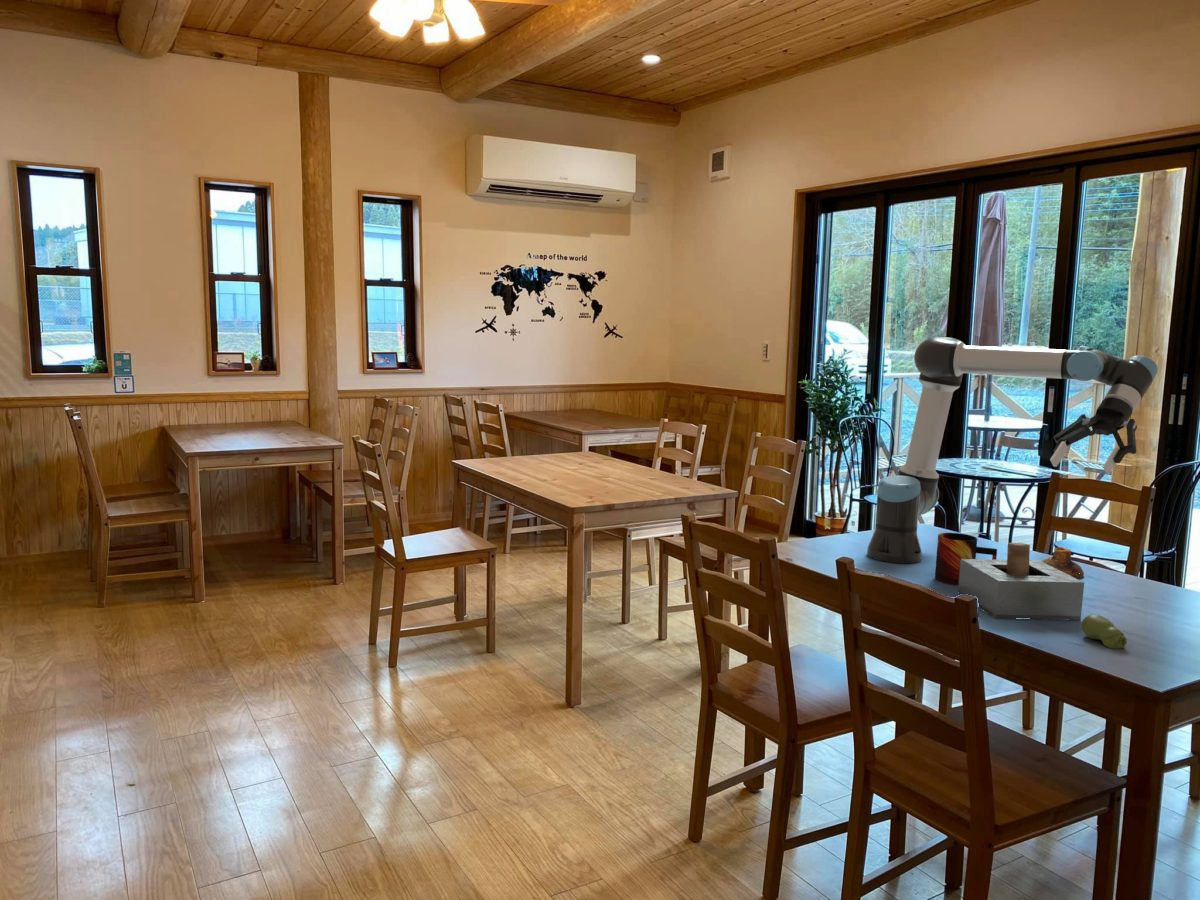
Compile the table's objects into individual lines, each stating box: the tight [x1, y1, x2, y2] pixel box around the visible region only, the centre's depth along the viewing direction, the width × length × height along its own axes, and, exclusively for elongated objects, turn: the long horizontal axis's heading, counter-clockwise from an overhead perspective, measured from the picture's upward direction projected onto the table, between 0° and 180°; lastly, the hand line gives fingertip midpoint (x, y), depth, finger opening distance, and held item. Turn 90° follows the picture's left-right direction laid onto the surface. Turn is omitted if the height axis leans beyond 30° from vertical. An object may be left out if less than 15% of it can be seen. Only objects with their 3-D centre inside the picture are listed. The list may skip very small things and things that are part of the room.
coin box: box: [957, 558, 1085, 621], centre depth 214 cm, size 20×20×9 cm
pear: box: [1080, 614, 1128, 650], centre depth 190 cm, size 6×5×10 cm
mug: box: [934, 532, 998, 587], centre depth 236 cm, size 10×14×12 cm
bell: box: [1040, 546, 1085, 579], centre depth 248 cm, size 12×12×7 cm
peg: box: [1006, 542, 1031, 576], centre depth 214 cm, size 5×5×14 cm
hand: (1078, 467), depth 223 cm, fingers open, 13 cm apart
